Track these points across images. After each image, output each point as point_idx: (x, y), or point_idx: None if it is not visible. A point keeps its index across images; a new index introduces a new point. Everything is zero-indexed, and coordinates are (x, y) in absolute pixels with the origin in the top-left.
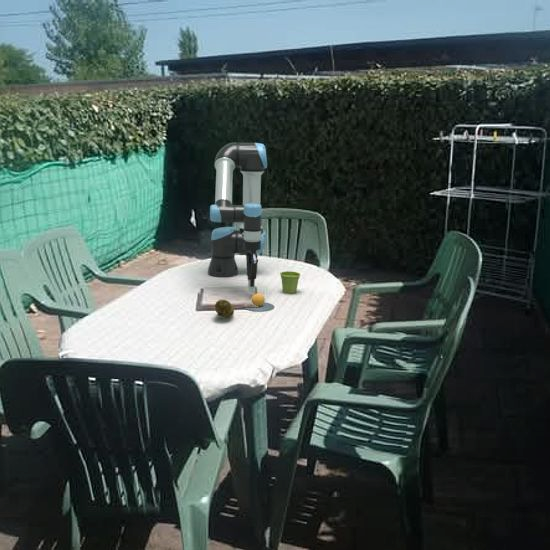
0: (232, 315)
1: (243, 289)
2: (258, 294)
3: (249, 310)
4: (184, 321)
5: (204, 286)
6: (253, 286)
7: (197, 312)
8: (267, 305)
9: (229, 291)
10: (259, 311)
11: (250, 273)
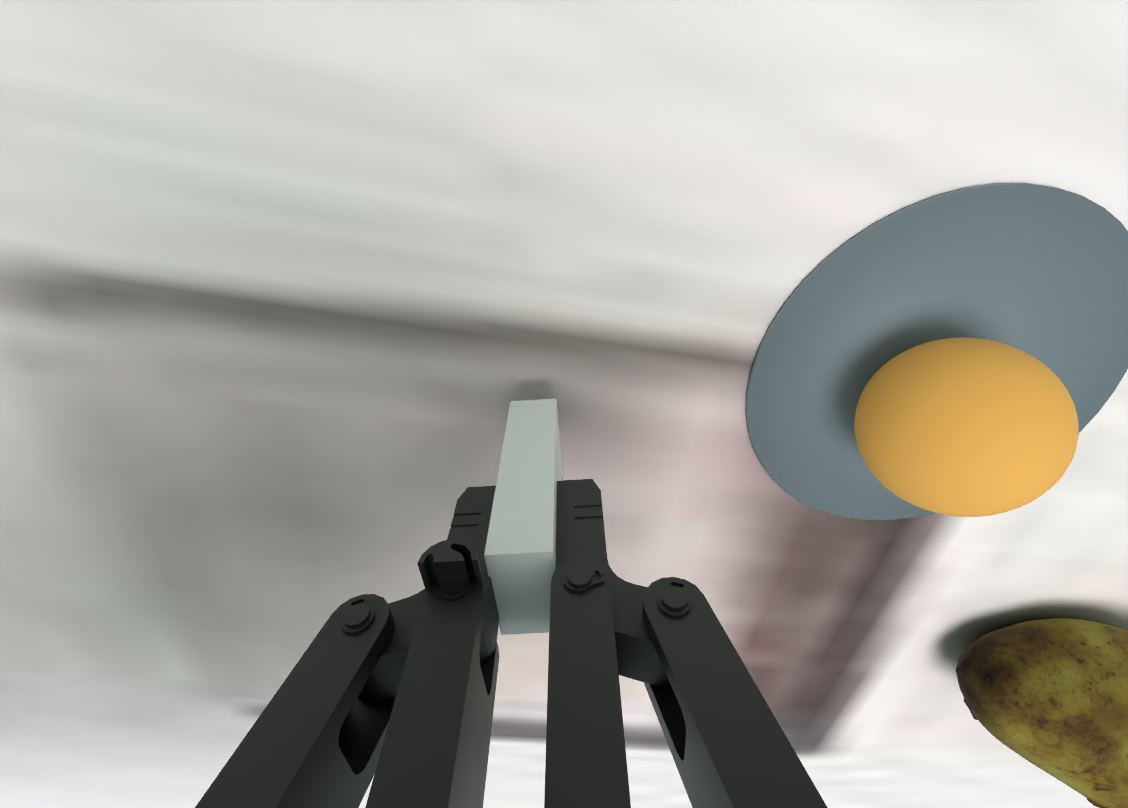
0: (1117, 627)
1: (201, 439)
2: (1047, 480)
3: None
4: (989, 795)
5: (190, 698)
6: (595, 486)
7: (855, 751)
8: (954, 274)
9: (314, 564)
10: (1102, 399)
11: (681, 773)
